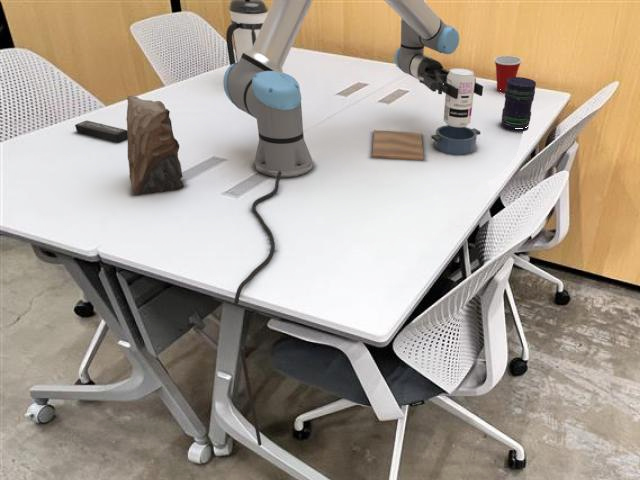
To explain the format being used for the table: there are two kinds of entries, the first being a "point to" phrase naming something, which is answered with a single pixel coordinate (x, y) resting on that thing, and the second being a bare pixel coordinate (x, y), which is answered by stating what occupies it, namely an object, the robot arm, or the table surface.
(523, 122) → the storage jar
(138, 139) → the brown rock
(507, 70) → the plastic cup
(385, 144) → the wooden board
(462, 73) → the supplement can
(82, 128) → the multiport hub
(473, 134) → the pot
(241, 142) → the table surface
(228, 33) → the coffee press
